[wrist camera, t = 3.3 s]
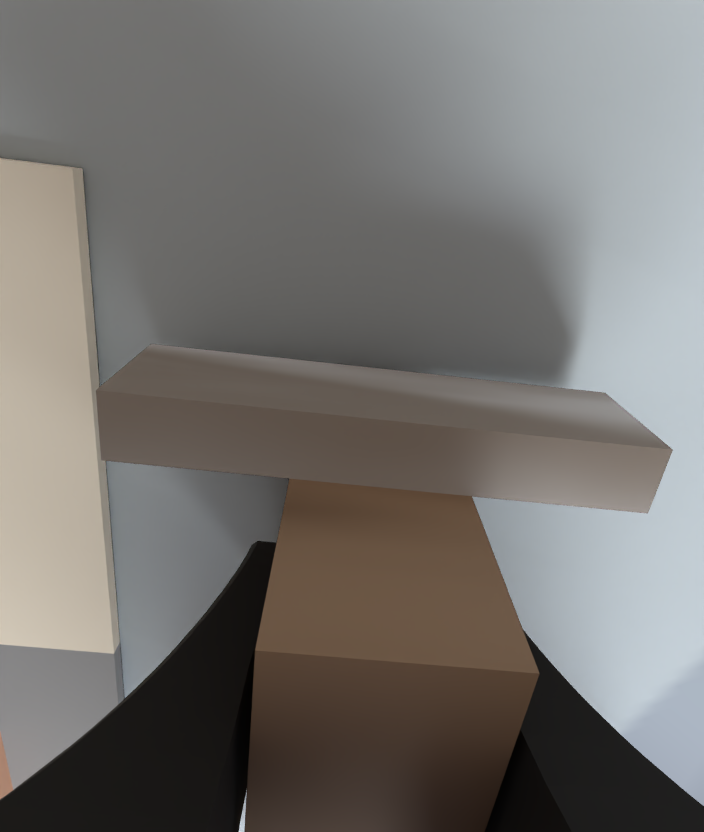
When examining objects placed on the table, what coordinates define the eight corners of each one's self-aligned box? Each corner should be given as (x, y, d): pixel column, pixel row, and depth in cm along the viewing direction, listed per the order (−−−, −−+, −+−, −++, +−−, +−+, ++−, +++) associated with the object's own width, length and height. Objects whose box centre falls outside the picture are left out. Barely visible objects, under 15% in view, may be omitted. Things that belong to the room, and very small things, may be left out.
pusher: (520, 656, 14) (633, 973, 8) (161, 626, 13) (28, 940, 8) (604, 393, 11) (864, 610, 5) (151, 343, 10) (-67, 527, 5)
